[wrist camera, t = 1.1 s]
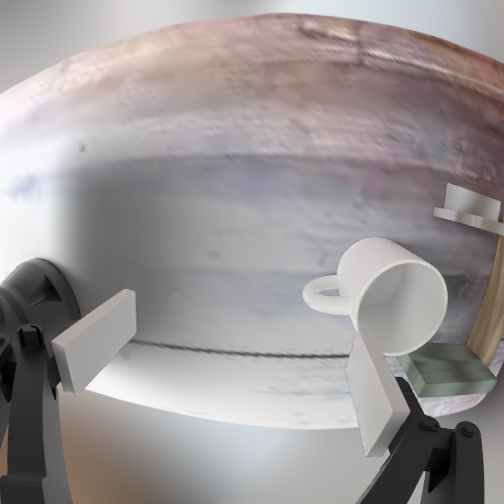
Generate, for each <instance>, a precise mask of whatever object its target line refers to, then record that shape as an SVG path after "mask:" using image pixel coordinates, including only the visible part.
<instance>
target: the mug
mask: <svg viewBox="0 0 504 504" xmlns="http://www.w3.org/2000/svg"><path fill="white" fill-rule="evenodd" d="M330 289H339V292H340V295H341V296H324V295H320V294H318V293H319V292H321V291H324V290H330ZM303 298H304V301H305V302H306V304H307V305H308V306H309V307H311V308H312V309H314V310H317V311H319V312H322V313H326V314H333V315H349V316H350V318H351V320H352V323H353V325H354V327H355V330H356V332H357V331H358V329H361V330H371V332H372V334H373V335H374V337H375V339H376V341H377V343H378V345H379V347H380V349H381V351H382V353H383V355H384V356H400V355H404V354H407V353H410V352H412V351H414V350H416V349H418V348H420V347H421V346H422V345H424V344H425V343H426V342H427V341H429V340H430V339H431V337H432V336H433V335H434V334H435V333H436V331H437V330H438V329H439V327H440V325H441V323H442V321H443V319H444V316H445V313H446V310H447V304H448V293H447V287H446V284H445V281H444V279H443V277H442V275H441V274H440V272H439V271H438V270H437V269H436V268H435V267H434V266H432V265H431V264H429V263H428V262H426V261H425V260H423V259H421V258H420V257H418V256H416V255H415V254H413V253H411V252H410V251H408V250H406V249H405V248H403V247H401V246H400V245H398V244H396V243H394V242H393V241H391V240H388V239H385V238H380V237H370V238H365V239H362V240H360V241H358V242H356V243H355V244H353V245H352V246H351V247H350V248H349V249H348V250H347V251H346V252H345V253H344V255H343V256H342V258H341V260H340V262H339V265H338V269H337V275H329V276H323V277H320V278H317V279H314V280H312V281H311V282H309V283H308V284H307V285H306V286H305V288H304V290H303Z"/></svg>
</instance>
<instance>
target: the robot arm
mask: <svg viewBox="0 0 504 504" xmlns="http://www.w3.org/2000/svg"><path fill="white" fill-rule="evenodd" d="M136 333H137V327H136V291H132V290H128V289H123V290H122V291H120V292H119V293H117V294H116V295H114V296H113V297H112V298H110V299H109V300H107V301H106V302H104V303H103V304H102V305H100V306H99V307H97V308H96V309H95V310H93V311H92V312H90V313H89V314H87V315H86V316H85V317H83V318H82V319H81V318H80V312H79V308H78V305H77V302H76V299H75V296H74V294H73V292H72V290H71V288H70V286H69V285H68V283H67V281H66V280H65V278H64V277H63V276H62V274H61V273H60V272H59V271H58V270H57V269H56V268H55V267H54V266H53V265H51V264H50V263H48V262H47V261H45V260H42V259H32V260H29V261H26V262H24V263H22V264H20V265H19V266H17V267H16V269H15V270H14V271H13V272H11V273H10V274H9V276H8V277H7V278H6V279H5V280H4V281H3V282H2V283H1V284H0V447H1V444H2V441H3V438H4V435H5V432H6V429H7V426H8V423H9V429H8V455H7V459H8V461H7V463H8V472H7V475H6V476H2V477H1V478H0V495H1V504H73V503H72V499H71V494H70V490H69V485H68V480H67V474H66V469H65V462H64V456H63V449H62V440H61V432H60V421H59V420H60V419H59V402H58V389H57V387H56V386H57V385H58V384H59V383H60V382H61V383H62V386H63V390H64V391H65V392H67V393H69V394H71V395H73V396H75V397H77V396H78V395H79V394H80V393H81V391H82V390H83V389H84V388H85V387H86V386H87V385H88V384H89V383H90V382H91V381H92V380H93V379H94V377H95V376H96V375H97V374H98V373H99V372H100V371H101V370H102V369H103V368H104V367H105V366H106V365H107V364H108V363H109V361H110V360H111V359H112V358H113V357H114V356H115V355H116V354H117V353H118V352H119V351H120V350H121V349H122V348H123V347H124V346H125V345H126V344H127V342H128V341H129V340H130V339H131V338H132V337H133V336H134V335H135V334H136ZM345 373H346V377H347V381H348V384H349V388H350V392H351V396H352V400H353V404H354V408H355V412H356V416H357V420H358V424H359V429H360V433H361V437H362V442H363V446H364V450H365V455H366V457H380V456H383V454H384V453H385V452H386V450H387V449H389V452H390V456H389V457H388V459H387V460H386V461H385V463H384V464H383V465H382V467H381V468H380V471H379V472H378V474H377V475H376V477H375V478H374V479H373V481H372V482H371V484H370V485H369V486H368V488H367V489H366V490H365V492H364V493H363V494H362V496H361V497H360V498H359V500H358V501H357V502H356V503H355V504H407V502H408V501H409V499H410V497H411V495H412V493H413V491H414V489H415V487H416V485H417V483H418V481H419V479H420V477H421V475H422V473H423V471H426V474H425V480H424V486H423V492H422V498H421V503H420V504H484V467H483V466H484V465H483V452H482V442H481V433H480V430H479V429H478V427H477V426H476V425H475V424H473V423H471V422H468V421H462V422H460V423H458V424H457V426H456V427H455V429H447V428H441V427H440V425H439V423H438V421H437V420H436V419H434V418H433V417H431V416H427V415H425V414H424V412H423V410H422V408H421V406H420V404H419V402H418V400H417V398H416V397H415V394H414V393H413V392H412V389H411V387H410V385H409V383H408V382H407V381H406V380H404V379H403V378H402V377H394V375H393V373H392V371H391V369H390V367H389V365H388V363H387V361H386V359H385V357H384V355H383V353H382V351H381V349H380V347H379V345H378V343H377V341H376V339H375V337H374V335H373V334H372V332H371V330H361V329H358V331H357V334H356V338H355V341H354V344H353V347H352V350H351V353H350V356H349V359H348V362H347V365H346V368H345Z"/></svg>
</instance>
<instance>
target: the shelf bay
mask: <svg viewBox="0 0 504 504" xmlns="http://www.w3.org/2000/svg"><path fill="white" fill-rule="evenodd" d="M500 205H501V202H500V201H497V200H495V199H492V198H490V197H487V196H484V195H482V194H479V193H476V192H473V191H470V190H468V189H465V188H462V187H459V186H456V185H453V184H450V183H447V190H446V197H445V204H444V209H443V208H438V207H435V210H434V216H436V217H440V218H444V219H448V220H451V221H455V222H459V223H462V224H466V225H469V226H473V227H476V228H479V229H483V230H486V231H489V232H493V233H496V234H499V235H500V237H499V242H498V246H497V251H496V255H495V259H494V263H493V267H492V271H491V275H490V278H489V282H488V285H487V289H486V292H485V295H484V298H483V301H482V304H481V307H480V310H479V313H478V316H477V319H476V321H475V324H474V327H473V329H472V332H471V334H470V337H469V339H468V342H467V344H441V343H425V344H424V345H422V346H421V347H420V348H418V349H416V350H414V351H412V352H410V353H407V354H404V355H400V356H397V358H398V360H399V362H400V363H401V365H402V367H403V369H404V371H405V373H406V375H407V376H408V378H409V380H410V382H411V384H412V386H413V388H414V390H415V392H416V394H417V396H418V397H419V398H421V397H443V396H457V395H468V394H477V393H485V392H491V391H492V389H493V387H494V386H495V384H496V382H497V380H498V379H497V378H496V377H495V376H494V374H493V373H492V372H491V371H490V370H489V369H488V366H489V364H490V362H491V360H492V358H493V355H494V353H495V351H496V349H497V347H498V344H499V342H500V340H501V337H502V335H503V332H504V214H503V220H502V223H500V222H498V218H499V212H500Z"/></svg>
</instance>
